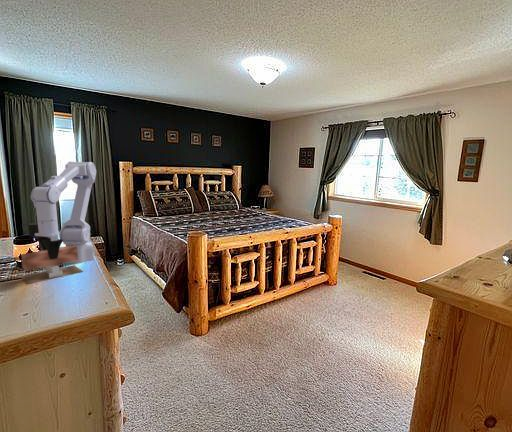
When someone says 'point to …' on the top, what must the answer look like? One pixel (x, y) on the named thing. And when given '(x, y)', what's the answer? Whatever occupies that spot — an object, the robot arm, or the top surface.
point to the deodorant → (32, 230)
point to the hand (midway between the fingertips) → (51, 256)
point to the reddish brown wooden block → (43, 260)
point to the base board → (42, 277)
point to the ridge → (52, 271)
